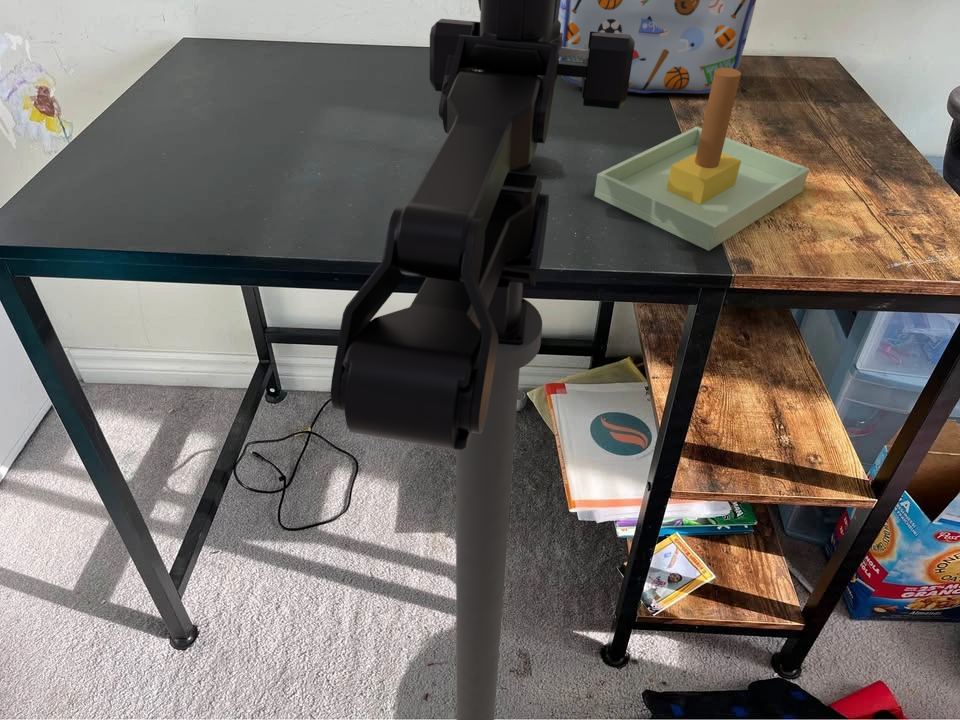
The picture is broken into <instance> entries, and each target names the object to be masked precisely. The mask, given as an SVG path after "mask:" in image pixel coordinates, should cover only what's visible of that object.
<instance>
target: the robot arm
mask: <svg viewBox="0 0 960 720" xmlns="http://www.w3.org/2000/svg"><path fill="white" fill-rule="evenodd" d="M477 2H478V7H479V11H480V15H479V16H480V18H479V20H480V21H473V20H472V21H471V20H464V19H463V20H462V19H461V20H460V19H451V18H450V19H449V18H440V19H439V20H438V21H436V22H435V23H434V24H433V25H432V26H431V28H430V33H429V82H430V85H431V87H433V89H434V90H435V92H441V93H440V98H439V102H438V103H439V104H438V116H439V117H440V119H441V120H442V128H443V131H444V133H446V134H447V135H446V137H445V139H444V140H443V142H442V144H441V145H440V147H439V149H438V151H437V153H436V155H435V156H434V158H433V159H432V161H431V163H430V165H429V167H428V169H427V170H426V172H425V174H424V175H423V178H422V179H421V181H420V183H419V184H418V187H417V188H416V191H415V192H414V193H413V195H412V197H411V199H410V201H409V202H408V204H407V205H406V206H396V208H394V209H393V211H392V214H391V216H390V219H389V222H388V227H387V231H386V238H385V244H384V248H383V249H384V250H383V256H382V260H381V262H380V263H379V264H378V266H377V267H376V268H375V269H374V271H372V273H371V275H370V276H369V277H368V278H367V279H366V280H365V282H364V283H363V284H362V286H361V287H360V288H359V290H358V291H357V292H356V294H355V295H354V296H353V297H352V298H351V300H349V302H347V303H348V304H346V306H345V308H344V310H343V312H342V318H341V322H340V323H341V324H340V329H339V335H338V341H337V346H336V353H335V358H334V365H333V370H332V376H331V385H330V401H331V405H332V408H333V409H334V410H335V411H337V412H343V413H344V417H345V422H346V423H345V424H346V427H347V429H348V430H349V432H350V433H352V434H357V435H362V436H369V437H375V438H380V439H387V440H394V441H398V442H405V443H411V444H416V445H423V446H427V447H429V446H430V447H433V448H438V449H439V448H440V449H445V450H446V449H447V450H452V451H456V450H463V449H465V448H466V447H467V445H468V444H469V441H470V438H471V435H472V433H476V434H481V432H482V430H483V427H484V424H485V420H486V416H487V410H488V405H489V399H490V392H491V386H492V380H493V373H494V367H495V361H496V354H497V348H498V344H507V345H521V344H523V340H524V327H525V314H526V300H527V299H526V298H524V297H523V292H524V284H527V285H529V286H536V284H537V280H538V277H539V271H540V269H541V264H542V261H543V256H544V248H545V239H546V231H547V223H548V222H547V221H548V215H549V205H550V204H549V203H550V194H549V193H541V191H542V187H543V182H542V181H541V179H539V175H538V174H531V173H522V172H515V171H513V170H516V169H520V168H523V167H526V166H527V165H529V164H530V162H531V161H533V157H534V156H535V154H536V151H537V147H538V144H545V143H546V141H547V136H548V131H549V125H550V117H551V111H552V106H553V97H554V93H555V92H554V91H555V84H556V81H557V78H558V76H561V77H562V76H571V77H582V87H581V98H582V99H583V100H582V101H583V104H582V106H583V107H593V108H603V109H612V110H620V109H621V108H622V107H624V105H625V104H627V99H628V93H629V92H628V86H629V79H630V72H631V66H632V59H633V52H634V46H635V41H634V40H633V38H632V37H631V36H630V35H628V34H616V33H604V32H591V31H590V34H589V39H588V43H587V44H584V49H578V48H566V47H561V46H562V36H563V33H560V30H561V23H560V21H559V20H558V18H559V10H560V2H561V0H477ZM560 56H561V57H562V60H563V59H564V57H566V60H568V58H569V57H570V60H572V59H573V57H574V59H575V61H576V60H577V58H579V61H581V59H582V62H573V61H562V60H559V58H560ZM531 163H532V162H531ZM510 171H511V172H510ZM406 276H414V277H422V278H425V280H424V281H423V283H422V284H421V286H420V288H419V290H418V292H417V293H416V295H415V297H414V298H413V300H412V303H410V306H408V307H405V308H402V309H399V310H395V311H392V312H389V313H386V314H383V315H379V316H376V314H377V313H378V312H379V311H380V310H381V308H382V307H383V306H384V305H385V303H386V302H387V301H388V300H389V298H390V297H391V296H392V294H393V293H394V292H395V291H396V289H397V288H398V287H399V286H400V284H402V282H403V281H404V280H405V277H406ZM523 298H524V299H523ZM375 316H376V317H375Z"/></svg>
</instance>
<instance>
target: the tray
mask: <svg viewBox="0 0 960 720" xmlns="http://www.w3.org/2000/svg"><path fill="white" fill-rule="evenodd" d="M701 131H702V127H700V126H695V127H693V128H691V129H689V130H686V131H684V132H682V133H680V134H677V135H676V136H674V137H672V138H669V139H667V140H665V141H663V142H661V143H659V144H657V145H655V146H653V147H651V148H648V149H646V150H643V151H642V152H640V153H638V154H636V155H634V156H632V157H630V158H628V159H626V160H623V161H621V162H619V163H616V164H615V165H613V166H611V167H609V168H607V169H604V170H603V171H601V172H598V173H597V174H596V182H595V188H594V189H595V190H594V194H593V195H594V197H595V198H597V199H598V200H601V201H603V202H606V203H608V204H609V205H612V206H614V207H616V208H618V209H620V210H622V211H624V212H626V213H628V214H630V215H633V216H635V217H637V218H638V219H641V220H643V221H645V222H647V223H649V224H652V225H653V226H656V227H658V228H659V229H662V230H664V231H666V232H667V233H670V234H672V235H674V236H677V237H678V238H680V239H683V240H685V241H686V242H689V243H691V244H693V245H695V246H697V247H700V248H702V249H704V250H706V251H711V250H712V249H714V248H716V247H718V246H719V245H720V244H722V243H724V242H726V241H727V240H728V239H730V238H731V237H733V236H734V235H736V234H738V233H739V232H740V231H742V230H744V229H745V228H747V227H748V226H750V225H752V224H753V223H756V221H758V220H759V219H761V218H763V217H764V216H766V215H768V214H769V213H771V212H772V211H773V210H775V209H776V208H779V207H780V206H782V205H783V204H784V203H786V202H788V201H789V200H791V199H793V198H795V196H797V195H799V194H800V193H801V192H803V191H804V187H805V184H806V182H807V179H808V176H809V173H810V168H809V167H807V166H803V165H801V164H798V163H795V162H792V161H791V160H787V159H784V158H783V157H779V156H776V155H774V154H772V153H769V152H766V151H764V150H760V149H758V148H755V147H752V146H750V145H748V144H745V143H742V142H740V141H737V140H734V139H732V138H729V137H727V136H726V137H725V141H724V145H723V149H722V153H723V154H726V155H728V156H731V157H734V158H736V159H739V160H741V164H740V168H739V171H738V175H737V179H736V183H735V185H734V186H732V187H730V188H728V189H727V190H725V191H723V192H721V193H720V194H718V195H716V196H714V197H713V198H711V199H709V200H707V201H706V202H704V203H702V204H701V205H700V204H697V203H695V202H693V201H691V200H688V199H686V198H684V197H682V196H679V195H677V194H675V193H672V192H670V191H668V190H667V185H668V181H669V176H670V171H671V166H672V165H674V164H675V163H677V162H679V161H681V160H683V159H685V158H687V157H689V156H691V155H693V154H695V153H697V149H698V145H699V140H700V136H701Z"/></svg>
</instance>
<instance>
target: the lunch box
mask: <svg viewBox="0 0 960 720" xmlns="http://www.w3.org/2000/svg"><path fill="white" fill-rule="evenodd" d="M756 3H757V0H561V2H560V10H559V18H558V20H559V21H560V23H561V30H560V33H563V36H562V46H561V47H566V48H578V49H584V44H587V43H588V39H589V34H590V31H591V32H604V33H616V34H628V35H630V36H631V37H632V38H633V40H634V41H635V46H634V52H633V59H632V66H631V72H630V79H629V86H628V92H627V93H635V94H643V95H645V94H647V95H648V94H693V95H694V94H698V95H699V94H701V95H703V94H710V91H711V87H712V82H713V78H714V73H715V70H716V69H718V68H732V69H736V70H738V68H739V66H740V63H741V59H742V55H743V52H744V50H745V47H746V42H747V39H748V34H749V32H750V27H751V23H752V20H753V15H754V12H755V7H756ZM559 60H562V57H561V56H560V58H559ZM562 61H573V62H582V59H581V61H579V58H577V60H576V61H575V59H574V57H573V59H572V60H570V57H569V58H568V60H566V57H564V59H563V60H562ZM561 77H562V79H563V80H565V81H566V82H567V83H568V84H571V85H572V86H573V85H574V86H576V87H581V88H582V77H571V76H561Z"/></svg>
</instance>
